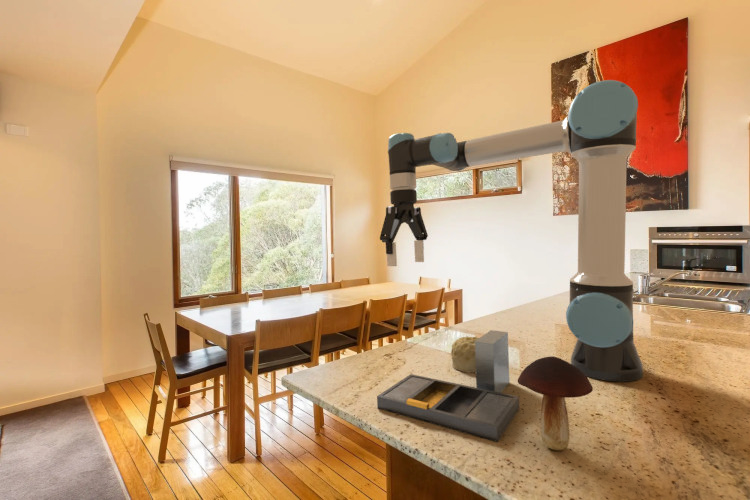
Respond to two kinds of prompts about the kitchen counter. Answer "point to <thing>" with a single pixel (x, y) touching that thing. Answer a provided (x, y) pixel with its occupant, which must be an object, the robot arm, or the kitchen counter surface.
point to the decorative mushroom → (555, 395)
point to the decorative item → (464, 354)
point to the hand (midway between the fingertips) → (406, 264)
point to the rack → (451, 405)
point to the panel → (492, 361)
